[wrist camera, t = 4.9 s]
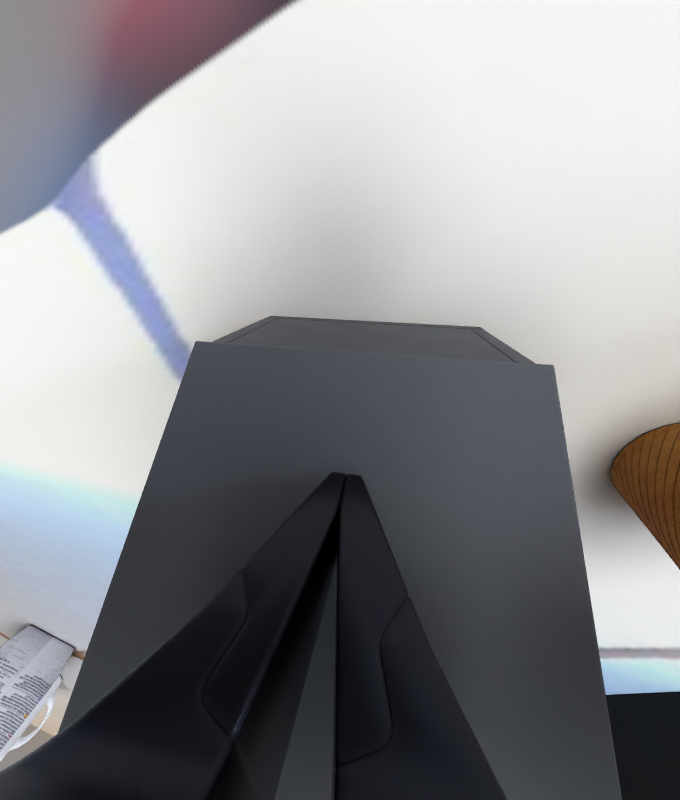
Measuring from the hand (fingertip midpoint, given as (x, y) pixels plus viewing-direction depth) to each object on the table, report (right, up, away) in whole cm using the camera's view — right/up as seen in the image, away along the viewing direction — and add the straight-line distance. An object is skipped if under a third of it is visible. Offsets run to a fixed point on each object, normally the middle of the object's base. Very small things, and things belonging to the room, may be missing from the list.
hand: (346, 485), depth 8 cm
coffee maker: (+28, -40, +28) cm, 56 cm away
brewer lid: (0, -3, 0) cm, 3 cm away
